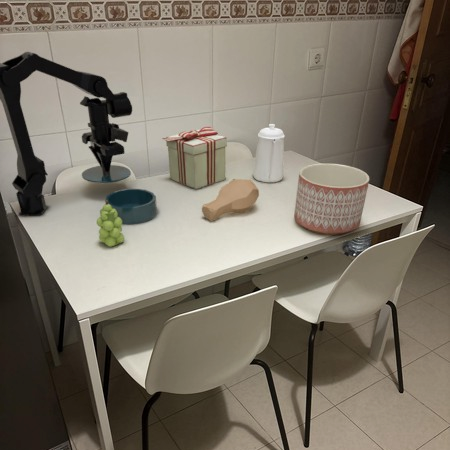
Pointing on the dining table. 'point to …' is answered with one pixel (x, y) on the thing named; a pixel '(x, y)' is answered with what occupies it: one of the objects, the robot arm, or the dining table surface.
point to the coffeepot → (269, 155)
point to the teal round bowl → (133, 205)
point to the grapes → (110, 226)
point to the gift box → (197, 157)
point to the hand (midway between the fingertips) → (105, 170)
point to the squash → (232, 199)
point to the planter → (330, 198)
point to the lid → (106, 174)
